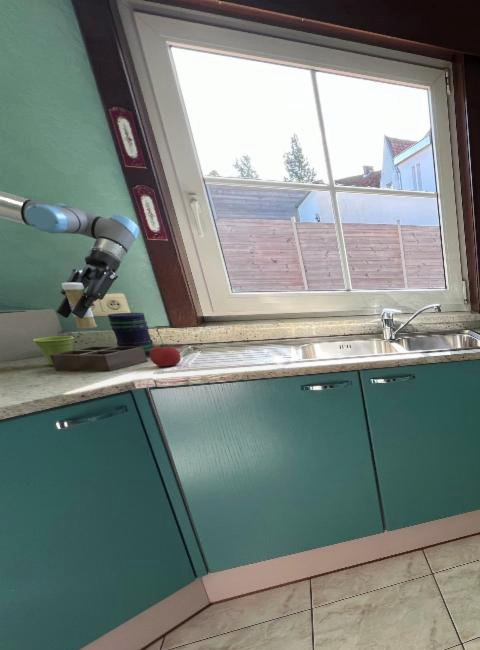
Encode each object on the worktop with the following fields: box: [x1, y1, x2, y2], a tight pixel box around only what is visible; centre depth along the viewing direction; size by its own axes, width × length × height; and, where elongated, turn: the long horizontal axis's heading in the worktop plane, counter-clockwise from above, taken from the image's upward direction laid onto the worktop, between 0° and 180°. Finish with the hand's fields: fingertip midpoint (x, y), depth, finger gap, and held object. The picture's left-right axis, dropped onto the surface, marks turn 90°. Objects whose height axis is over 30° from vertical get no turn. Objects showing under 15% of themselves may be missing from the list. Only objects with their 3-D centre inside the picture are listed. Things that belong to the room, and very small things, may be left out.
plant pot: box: [32, 335, 75, 367], centre depth 164 cm, size 9×9×9 cm
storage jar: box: [107, 312, 156, 358], centre depth 178 cm, size 10×10×15 cm
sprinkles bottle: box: [61, 282, 98, 329], centre depth 152 cm, size 5×5×14 cm
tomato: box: [149, 343, 182, 368], centre depth 166 cm, size 8×8×7 cm
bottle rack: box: [50, 345, 148, 372], centre depth 164 cm, size 16×16×5 cm
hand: (69, 315), depth 149 cm, fingers closed on sprinkles bottle, 4 cm apart
